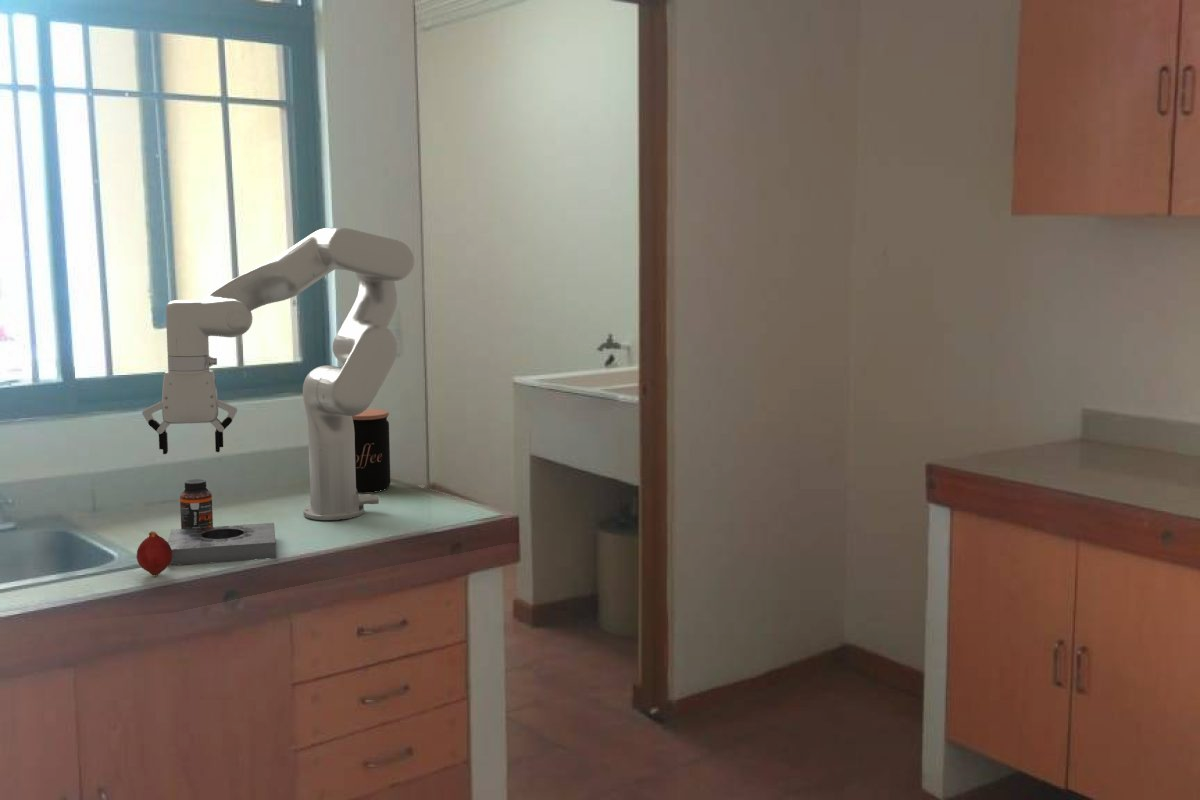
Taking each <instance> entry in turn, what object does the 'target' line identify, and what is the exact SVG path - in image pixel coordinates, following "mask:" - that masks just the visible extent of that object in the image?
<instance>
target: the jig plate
mask: <svg viewBox="0 0 1200 800" xmlns="http://www.w3.org/2000/svg"><path fill="white" fill-rule="evenodd" d="M167 542H168V543H169V545H170V547H171V550H172V560H171V562H170V564H169V565H176V566H186V564H189V565H199V564H198V563H203V564H211V563H210V562H216V563H228V562H239V561H241V562H242V561H252V560H253V561H254V560H255V559H257V560H267V559H266V558H270V559H277V543H276V542H277V541H276V529H275V523H274V522H268V523H267V522H266V523H249V524H236V525H218V526H213V527H203V528H188V529H181V528H176V529H175V528H174V529H171V530H170V532H169V536H168V541H167ZM255 561H256V560H255ZM169 565H168V567H170V566H169Z"/></svg>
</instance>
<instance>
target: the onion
mask: <svg viewBox="0 0 1200 800" xmlns="http://www.w3.org/2000/svg"><path fill="white" fill-rule="evenodd" d="M171 560H172V550H171V547H170V545H169V543H168V541H167V540H166V539H164V537H161V536H160V535H159V534H158V533H157V532H156V531H153V530H151V531H150V532H149V533H148V537H146V538H144V540H143V541H141V543H140V544H139V546H138V548H137V550H136V561H137V563H138V565H139V566H140V568H141V569H143V570H145V571H146V572H148V573H149V574H150V575H151V576H154V577H155V576H156V575H157V576H158V575H161V573H162V572H164V571H165V570H166V569H167V568H168V567H169V566H168V565H169V564H170V562H171ZM157 576H156V577H157Z"/></svg>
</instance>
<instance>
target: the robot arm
mask: <svg viewBox="0 0 1200 800" xmlns="http://www.w3.org/2000/svg"><path fill="white" fill-rule="evenodd" d="M414 266H415V257H414V254H413V251H412V250H411V248H410V247H409V246H408V245H407V244H406V243H404V242H402V241H401V240H397V239H394V238H390V237H386V236H381V235H377V234H372V233H370V232H369V233H368V232H364V231H360V230H357V229H353V228H348V227H325V228H324V227H323V228H320V229H317V230H316V231H314V232H312V233H310V234H309V235H307V236H306V237H304V238H303V239H301V240H300V241H298V242H297V243H295V244H294V245H292V246H291V247H290V248H288V249H286V250H285V251H283V252H281V253H280V254H278V255H277V256H275V257H274V258H272V259H271V260H269V261H267V262H265V263H263V264H260V265H259V266H257V267H255V268H253V269H251V270H249V271H248V272H246V273H245V272H244V273H243V274H241V275H238V276H237V277H235V278H233V279H231V280H229V281H228V282H226V283H224V284H223V285H221V286H219V287H218V288H216V289H215V290H213V291H212V292H211V293H209V294H208V295H206V296H204V297H202V299H201V300H198V299H176V300H175V299H174V300H171V301H169V302H168V303H167V304H166V306H165V320H166V322H165V324H166V348H167V349H166V350H167V351H166V352H167V371H166V370H165V371H164V372H163V379H162V388H161V389H162V394H161V401H159V402H157V403H155V404H153V405H151V406H149V407H148V408H145V409H144V410H142V412H141V414H142V415H143V418H144V419H145V421H146V422H147V424H148V425H149V427H150V428H152V429H153V430H154V431H155V432H156V433H157V434H158V449H159V450H162V455H167V454H168V452H169V444H168V432H167V428H168V427H169V425H171V424H173V425H174V424H176V425H180V424H181V425H183V424H207V423H208V424H209V423H210V424H211V426H213V427H214V429H215V432H214V438H215V439H214V441H215V442H214V443H215V448H214V449H215V452H216V453H220V450H221V448H223V447H224V430H226V429H227V428H228V427H229V425H230V424H232V422H233V420H234V418H235V416H236V414H237V413H238V408H237V407H235V406H233V405H231V404H229V403H227V402H225V401H223V400H220V399H218V389H217V381H216V380H217V379H216V376H215V372H214V369H213V370H212V369H210V368H211V367H212V366H218V358H217V357H211V356H210V349H209V348H210V346H209V343H210V342H209V337H221V338H222V337H224V338H238V337H240V336H243V335H244V334H245V333H247V332H248V331H249V330H250V328H251V327H252V323H253V313H252V311H253V310H256V309H259V308H260V307H263V306H265V305H269V304H273V303H278V302H282V301H286V300H289V299H292V298H294V297H296V296H298V295H300V293H302V292H304V291H305V290H307V289H308V288H309V287H311V286H312V285H314V284H315V283H317V282H319V281H320V280H321V279H323V278H324V277H326V276H327V275H328V274H330V273H331V272H333V271H335V270H339V271H340V270H341V271H344V270H345V271H348V272H352V273H353V272H354V273H355V275H356V278H357V283H358V291H357V295H356V298H355V301H354V303H353V304H352V306H351V309H350V310H349V312H348V314H347V316H346V317H345V319H344V321H343V322H342V324H341V326H340V328H339V329H338V331H337V333H336V335H335V337H334V339H333V342H332V352H333V355H334V357H335V358H336V359H337V360H338V361H339V362H340V363H342V364H343V366H337V365H335V366H334V365H321V366H317V367H315V368H314V369H312V370H311V371H309V372H308V373H307V375H306V377H305V378H304V381H303V385H302V397H303V403H304V408H305V413H306V414H305V415H306V420H307V421H306V422H307V433H308V434H307V435H308V464H309V465H308V466H309V493H310V495H309V496H310V505H308V506H306V507H305V508H304V509H303V510H302V512H303V516H304V517H305V518H306V519H307V518H308V519H310V520H315V521H316V520H317V521H339V520H340V519H342V520H348V519H347V518H349V519H353V518H356V516H357V517H359V515H360V516H361V515H363V514H364V512H365V507H364V505H378V504H379V503H380V502H379V501H380V500H379V497H380V496H379V494H372V493H358V491H357V489H356V470H355V431H354V423H353V419H352V416H355V415H358V414H361V413H362V412H364V411H365V410H366V409H369V407H370V405H372V403H373V401H374V399H375V398H376V396H377V394H378V392H379V390H380V389H381V387H382V385H383V384H384V382H385V380H386V378H387V376H388V374H389V373H390V371H391V369H392V367H393V365H394V363H395V361H396V358H397V353H398V342H397V338H396V336H395V335H394V333H393V332H392V330H390V329H389V328H388V327H389V325H390V322H391V321H392V320H393V317H394V314H395V312H396V308H397V304H398V296H397V295H398V294H397V289H396V288H397V287H396V284H395V282H398V281H402V280H404V279H406V278H407V277H408V276H409V275H410V274H411V273H412V271H413V269H414ZM219 408H220V409H222V410H224V411H226V412H227V416H226V417H225V418H224V419H223V420H222V421H221V420H220V419H219V418H218V415H219ZM160 410H161V415H162V421H161V423H159V422H158V421H157V420H156V419H155V418H154V416H153V414H154V413H156V412H158V411H160ZM352 517H353V518H352Z"/></svg>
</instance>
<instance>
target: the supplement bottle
mask: <svg viewBox="0 0 1200 800" xmlns="http://www.w3.org/2000/svg"><path fill="white" fill-rule="evenodd" d="M179 502H180V503H179V505H180V506H179V507H180V508H179V510H180V529H188V528H203V527H214V521H213V520H214V519H213V517H214V515H213V514H214V513H213V496H212V492H211V491H210V490H209V489H208V488H207V480H206V479H200V478H199V479H197V478H196V479H188V480H185V481H184V491H183V492H181V493H180V496H179Z"/></svg>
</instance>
